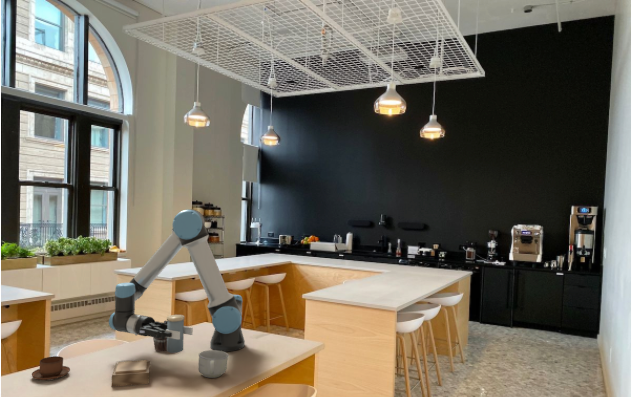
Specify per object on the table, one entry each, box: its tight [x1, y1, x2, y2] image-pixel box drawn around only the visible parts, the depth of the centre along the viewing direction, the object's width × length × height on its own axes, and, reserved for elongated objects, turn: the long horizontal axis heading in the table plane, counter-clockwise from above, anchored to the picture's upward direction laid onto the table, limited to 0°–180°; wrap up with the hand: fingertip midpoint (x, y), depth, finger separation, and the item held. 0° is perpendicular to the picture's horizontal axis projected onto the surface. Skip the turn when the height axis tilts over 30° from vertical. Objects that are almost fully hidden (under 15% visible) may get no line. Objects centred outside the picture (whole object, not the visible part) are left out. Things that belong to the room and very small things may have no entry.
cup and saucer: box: [31, 355, 71, 381], centre depth 166 cm, size 12×12×6 cm
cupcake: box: [152, 331, 167, 352], centre depth 201 cm, size 10×10×10 cm
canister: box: [166, 314, 185, 354], centre depth 175 cm, size 6×6×13 cm
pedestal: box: [110, 359, 151, 388], centre depth 166 cm, size 12×12×5 cm
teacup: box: [197, 349, 229, 379], centre depth 170 cm, size 14×11×8 cm
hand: (185, 333), depth 173 cm, fingers closed on canister, 6 cm apart
